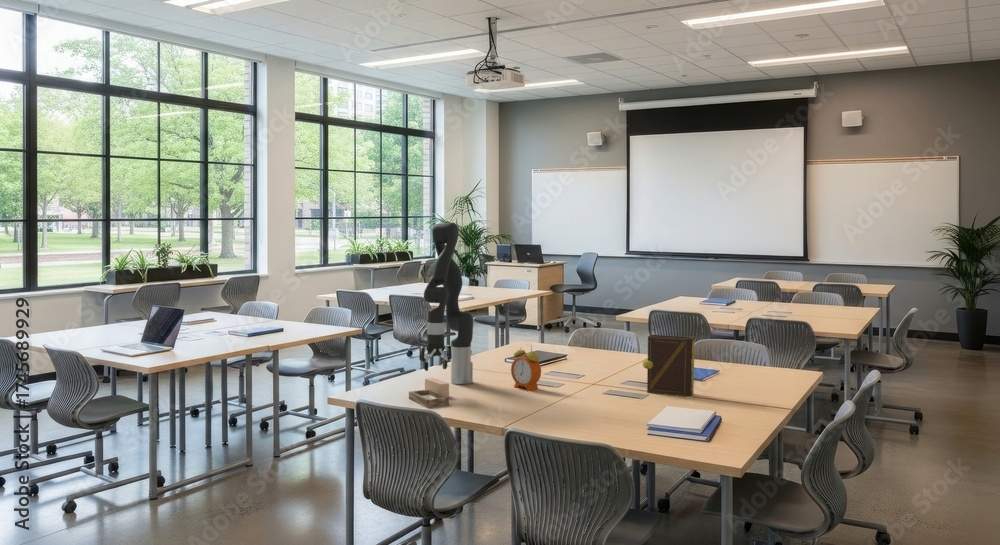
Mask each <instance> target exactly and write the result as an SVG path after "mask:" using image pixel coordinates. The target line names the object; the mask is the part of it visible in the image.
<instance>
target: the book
mask: <svg viewBox="0 0 1000 545" xmlns="http://www.w3.org/2000/svg"><path fill="white" fill-rule="evenodd" d="M642 366H643V368H644V369H647V373H646V374H647V375H646V376H647V378H646V380H647V381H646V384H647V386H646V389H647V391H646V393H648V394H657V395H665V394H666V395H667V396H676V395H678V396H679V397H686V396H691V397H693V396H694V393H695V392H694V389H695V388H694V381H695V375H694V374H695V337H693V336H683V335H682V336H679V335H667V334H666V335H664V334H650V335H648V336H647V358H645V359H643V360H642ZM692 395H693V396H692ZM678 396H677V397H678Z"/></svg>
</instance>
